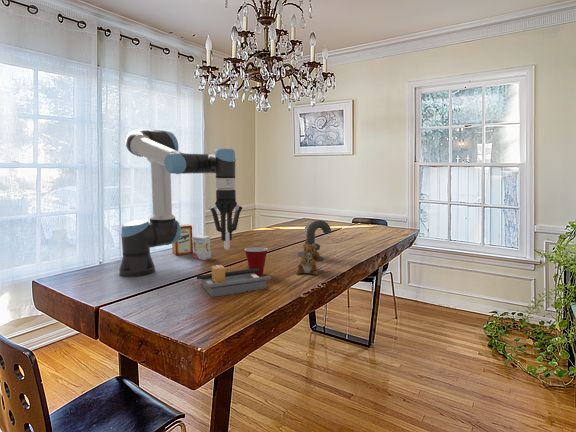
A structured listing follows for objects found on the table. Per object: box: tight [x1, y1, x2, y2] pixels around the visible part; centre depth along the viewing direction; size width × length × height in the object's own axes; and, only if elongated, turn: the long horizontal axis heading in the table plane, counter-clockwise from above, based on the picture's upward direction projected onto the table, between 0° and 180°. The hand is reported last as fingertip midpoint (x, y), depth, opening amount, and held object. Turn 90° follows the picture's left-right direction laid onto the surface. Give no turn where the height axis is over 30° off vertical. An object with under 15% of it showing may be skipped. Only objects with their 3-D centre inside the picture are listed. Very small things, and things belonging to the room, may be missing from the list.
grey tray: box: [196, 268, 272, 290], centre depth 152 cm, size 27×15×2 cm, turn 116°
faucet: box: [297, 219, 332, 262], centre depth 202 cm, size 18×16×20 cm
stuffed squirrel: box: [295, 243, 321, 276], centre depth 175 cm, size 10×14×13 cm
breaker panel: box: [200, 273, 267, 298], centre depth 153 cm, size 22×16×3 cm
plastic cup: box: [243, 247, 269, 277], centre depth 170 cm, size 11×11×12 cm
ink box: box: [192, 234, 212, 261], centre depth 200 cm, size 9×5×12 cm, turn 56°
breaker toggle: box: [211, 264, 226, 283], centre depth 149 cm, size 4×5×6 cm
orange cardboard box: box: [171, 224, 193, 257], centre depth 211 cm, size 10×6×16 cm
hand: (226, 248), depth 150 cm, fingers closed
